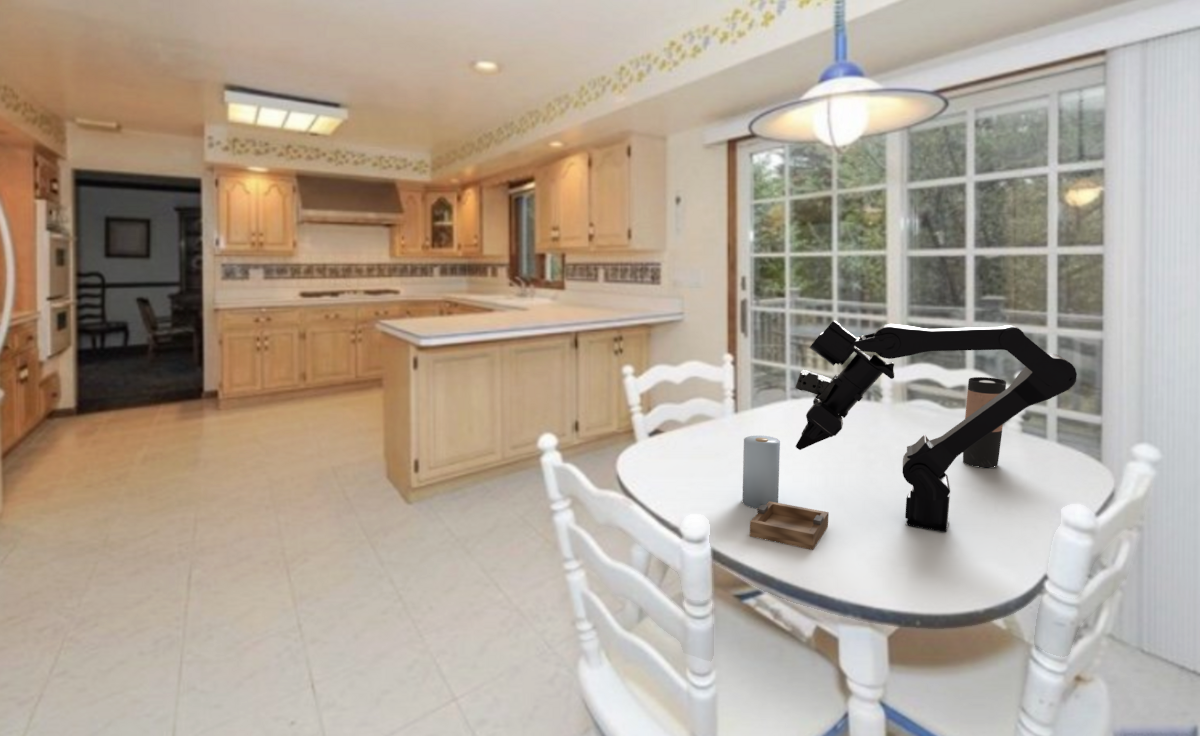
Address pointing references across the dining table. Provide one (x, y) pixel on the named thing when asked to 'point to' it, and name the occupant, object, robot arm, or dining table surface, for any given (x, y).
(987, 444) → the travel mug
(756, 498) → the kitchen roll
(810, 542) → the square wooden tray
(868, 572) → the dining table surface
